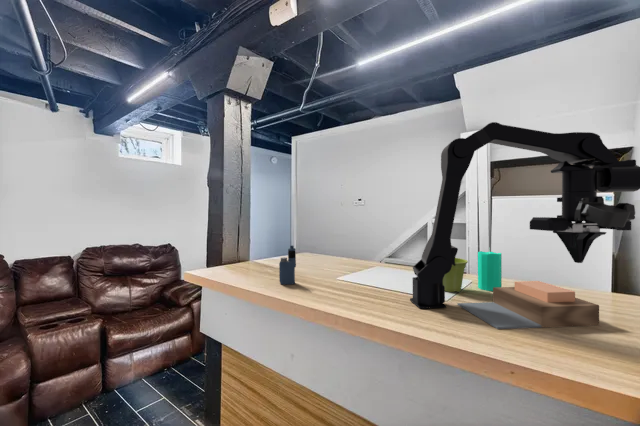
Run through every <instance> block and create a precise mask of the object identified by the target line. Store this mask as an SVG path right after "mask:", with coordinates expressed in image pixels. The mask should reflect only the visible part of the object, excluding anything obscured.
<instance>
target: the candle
mask: <svg viewBox="0 0 640 426" xmlns="http://www.w3.org/2000/svg"><path fill="white" fill-rule="evenodd" d="M488 249H489V250H488V251H478V252H477V288H478V289H480V290H482V291H487V292H493V287H503V286H502V284H503V283H502V281H503V279H502V277H503V276H502V273H503V272H502V268H503V267H502V266H503V265H502V263H503V262H502V252H493V251H491V248H490V247H488Z"/></svg>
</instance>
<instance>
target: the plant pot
mask: <svg viewBox="0 0 640 426" xmlns="http://www.w3.org/2000/svg"><path fill="white" fill-rule="evenodd" d="M467 263H469V262H468V260H467V259H464V258H460V257H455V266H454V265H452V268H451V270H450V272H449V273H447V274H445V275H444V278H443V285H444V286H445V292H449V293H454V292H459V293H460V292H461V291H462V287H463V286H462V285H463V278H464V275H465V268H466V267H467V266H466V265H467Z"/></svg>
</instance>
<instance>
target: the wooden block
mask: <svg viewBox="0 0 640 426" xmlns="http://www.w3.org/2000/svg"><path fill="white" fill-rule="evenodd" d="M492 293H493V294H492V302H494V303H496V304H498V305H500V306H502V307H504V308H506V309H508V310H510V311H513V312H515V313H517V314H519V315H521V316H523V317H525V318H527V319H529V320H531V321H533V322H536V323H538V324H540V325H542V327H541V328H562V327H563V328H565V327H588V326H589V327H593V326H600V305H599V304H596V303H593V302H590V301H587V300H584V299H580V298H578V297H575V302H545V301H543V300H540V299H537V298H535V297H532V296H529V295H527V294H524V293H521V292H519V291H516V290H515V286H505V287H504V286H502V287H493V291H492Z"/></svg>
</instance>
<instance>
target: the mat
mask: <svg viewBox="0 0 640 426" xmlns="http://www.w3.org/2000/svg"><path fill="white" fill-rule="evenodd" d="M456 304H457V306H459V307H460V308H461V309H464V310H465V311H467V312H468V313H470V314H472V315H474V316H475V317H476V318H479V319H480V320H482V321H483V322H485V323H486V324H489V325H490V326H491V327H493V328H495V329H497V330H507V329H508V330H509V329H533V328H537V329H538V328H543V327H542V325H540V324H538V323H536V322H533V321H531V320H529V319H527V318H525V317H523V316H521V315H519V314H517V313H515V312H513V311H510V310H508V309H506V308H504V307H502V306H500V305H498V304H496V303H494V302H493V301H492V302H491V301H490V302H489V301H488V302H484V301H483V302H457V303H456Z"/></svg>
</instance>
